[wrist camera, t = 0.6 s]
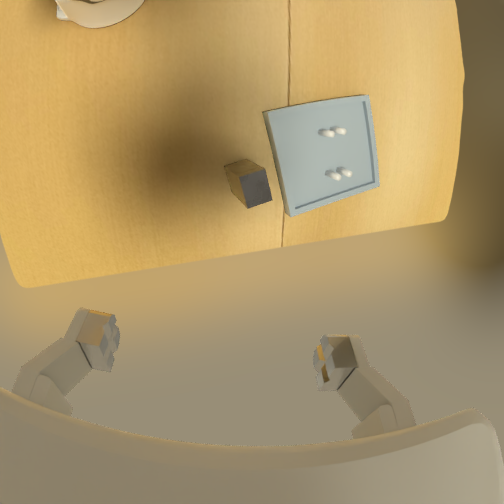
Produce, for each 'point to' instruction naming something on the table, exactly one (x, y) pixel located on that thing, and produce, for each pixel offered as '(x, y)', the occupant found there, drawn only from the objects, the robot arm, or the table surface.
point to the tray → (323, 151)
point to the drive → (248, 183)
